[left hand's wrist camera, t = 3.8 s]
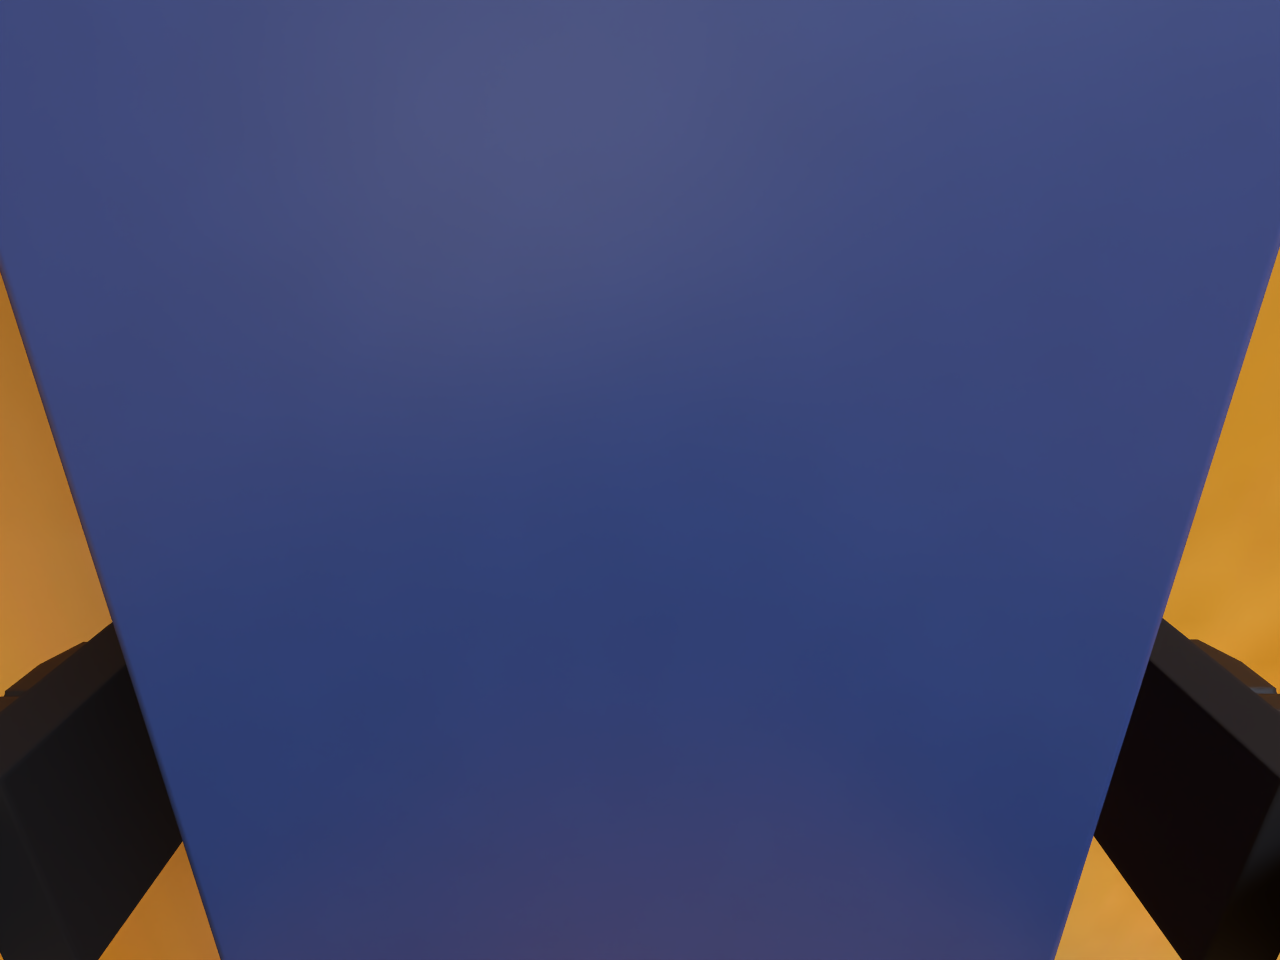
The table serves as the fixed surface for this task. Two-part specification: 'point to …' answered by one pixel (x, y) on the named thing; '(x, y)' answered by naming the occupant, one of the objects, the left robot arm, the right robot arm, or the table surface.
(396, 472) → the box
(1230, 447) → the table surface
